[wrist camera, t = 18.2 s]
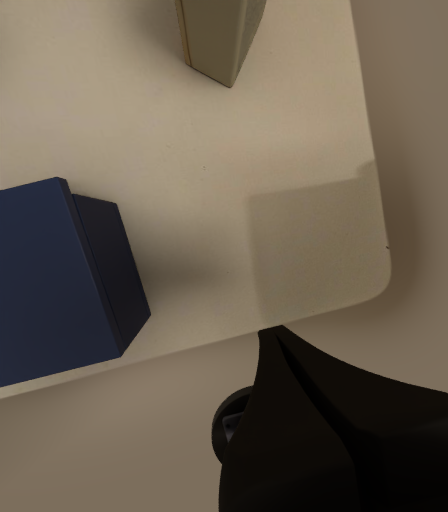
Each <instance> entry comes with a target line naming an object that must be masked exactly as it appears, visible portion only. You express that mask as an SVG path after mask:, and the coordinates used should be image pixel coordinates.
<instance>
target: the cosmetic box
mask: <svg viewBox="0 0 448 512" xmlns="http://www.w3.org/2000/svg"><path fill="white" fill-rule="evenodd" d="M265 3H266V0H175V5H176V10H177V16H178V22H179V28H180V33H181V39H182V45H183V51H184V56H185V62H186V64H188V65H190V66H191V67H193V68H195V69H197V70H198V71H200V72H202V73H204V74H206V75H208V76H209V77H211V78H213V79H215V80H217V81H219V82H221V83H222V84H224V85H226V86H228V87H232V86H233V84H234V82H235V80H236V77H237V75H238V73H239V71H240V68H241V66H242V64H243V61H244V59H245V57H246V55H247V52H248V50H249V47H250V45H251V43H252V40H253V38H254V35H255V33H256V31H257V28H258V25H259V23H260V20H261V18H262V15H263V12H264V8H265Z"/></svg>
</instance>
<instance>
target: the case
mask: <svg viewBox="0 0 448 512" xmlns="http://www.w3.org/2000/svg"><path fill="white" fill-rule="evenodd" d="M71 195H72V197H73V200H74V203H75V206H76V209H77V212H78V215H79V218H80V220H81V223H82V226H83V229H84V232H85V235H86V238H87V241H88V243H89V246H90V249H91V252H92V255H93V258H94V261H95V264H96V266H97V269H98V272H99V275H100V278H101V281H102V284H103V287H104V289H105V292H106V295H107V298H108V301H109V304H110V307H111V310H112V312H113V315H114V318H115V321H116V324H117V327H118V330H119V333H120V335H121V338H122V341H123V344H124V347H125V350H126V349H127V348H128V346H129V345H130V344H131V342H132V341H133V339H134V338H135V337H136V335H137V334H138V332H139V331H140V330H141V328H142V327H143V325H144V324H145V323H146V321H147V320H148V318H149V317H150V316H151V313H150V309H149V306H148V303H147V300H146V297H145V293H144V290H143V287H142V284H141V280H140V277H139V274H138V271H137V268H136V264H135V261H134V258H133V255H132V252H131V248H130V245H129V242H128V239H127V236H126V232H125V229H124V226H123V223H122V220H121V216H120V213H119V210H118V207H117V204H116V203H112V202H108V201H103V200H99V199H94V198H90V197H86V196H81V195H77V194H71Z"/></svg>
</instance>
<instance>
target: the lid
mask: <svg viewBox="0 0 448 512" xmlns="http://www.w3.org/2000/svg"><path fill="white" fill-rule="evenodd" d="M124 352H125V347H124V344H123V341H122V338H121V335H120V333H119V330H118V327H117V324H116V321H115V318H114V315H113V312H112V310H111V307H110V304H109V301H108V298H107V295H106V292H105V289H104V287H103V284H102V281H101V278H100V275H99V272H98V269H97V266H96V264H95V261H94V258H93V255H92V252H91V249H90V246H89V243H88V241H87V238H86V235H85V232H84V229H83V226H82V223H81V220H80V218H79V215H78V212H77V209H76V206H75V203H74V200H73V197H72V195H71V192H70V189H69V186H68V183H67V180H66V179H63V178H59V177H54V178H50V179H46V180H42V181H37V182H33V183H29V184H25V185H21V186H17V187H13V188H9V189H5V190H0V387H4V386H8V385H12V384H16V383H20V382H24V381H28V380H32V379H36V378H40V377H44V376H48V375H52V374H56V373H60V372H64V371H68V370H72V369H76V368H80V367H84V366H88V365H92V364H96V363H100V362H104V361H108V360H112V359H115V358H119V357H121V356H122V355H123V353H124Z"/></svg>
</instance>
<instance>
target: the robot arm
mask: <svg viewBox="0 0 448 512" xmlns="http://www.w3.org/2000/svg"><path fill="white" fill-rule="evenodd" d="M258 337H259V346H260V347H259V360H258V367H257V372H256V377H255V381H254V385H253V388H252V392H251V395H250V398H249V401H248V403H247V406H246V408H245V411H244V412H240V413H236V414H232V415H228V416H225V417H224V418H223V426H224V429H225V433H226V437H227V440H228V445H227V446H226V448H225V451H224V457H223V462H222V469H221V476H220V485H219V512H448V393H446V392H442V391H437V390H433V389H429V388H424V387H420V386H416V385H411V384H407V383H404V382H400V381H397V380H393V379H390V378H386V377H383V376H380V375H377V374H374V373H371V372H368V371H365V370H363V369H360V368H357V367H355V366H353V365H350V364H348V363H346V362H344V361H341V360H339V359H337V358H335V357H333V356H331V355H329V354H327V353H325V352H323V351H321V350H319V349H317V348H316V347H314V346H313V345H311V344H310V343H308V342H306V341H305V340H303V339H302V338H300V337H299V336H297V335H296V334H294V333H293V332H292V331H290V330H289V329H288V328H286V327H285V326H283V325H279V326H275V327H271V328H267V329H263V330H259V332H258ZM227 424H229V425H227Z"/></svg>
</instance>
